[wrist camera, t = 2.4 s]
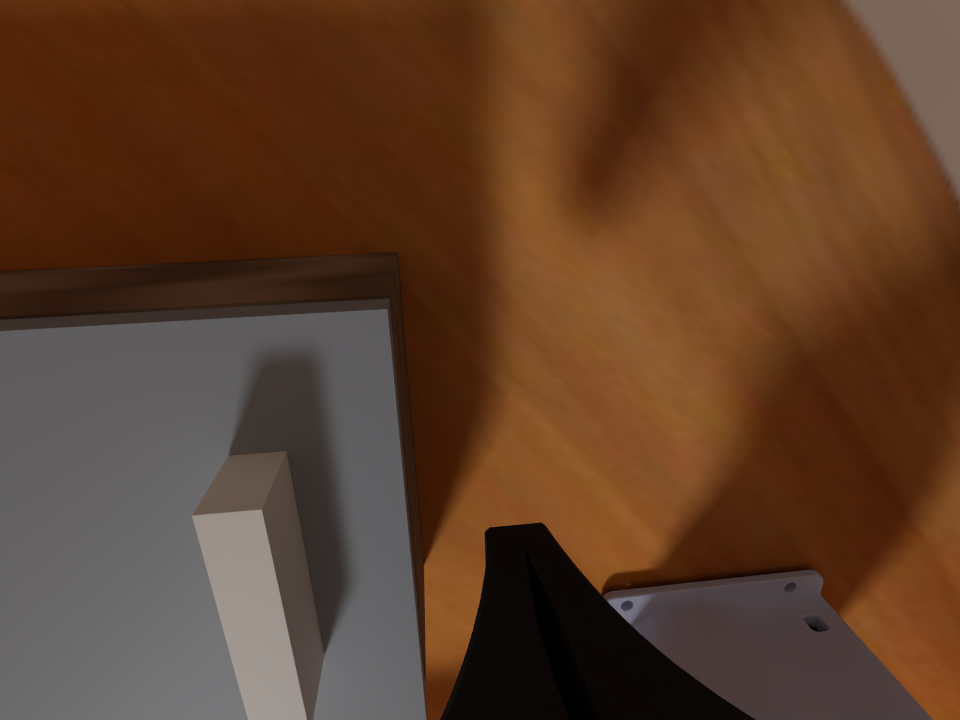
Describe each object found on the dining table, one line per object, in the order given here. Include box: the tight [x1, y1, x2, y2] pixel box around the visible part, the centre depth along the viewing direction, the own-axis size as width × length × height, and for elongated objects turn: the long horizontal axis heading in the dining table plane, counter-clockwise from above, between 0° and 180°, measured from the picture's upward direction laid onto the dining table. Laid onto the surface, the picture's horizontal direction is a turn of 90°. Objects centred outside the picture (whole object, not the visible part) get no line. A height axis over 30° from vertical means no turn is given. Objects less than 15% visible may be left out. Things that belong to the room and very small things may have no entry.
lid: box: [0, 298, 427, 720], centre depth 12 cm, size 14×12×3 cm
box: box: [0, 253, 426, 687], centre depth 16 cm, size 14×12×5 cm
